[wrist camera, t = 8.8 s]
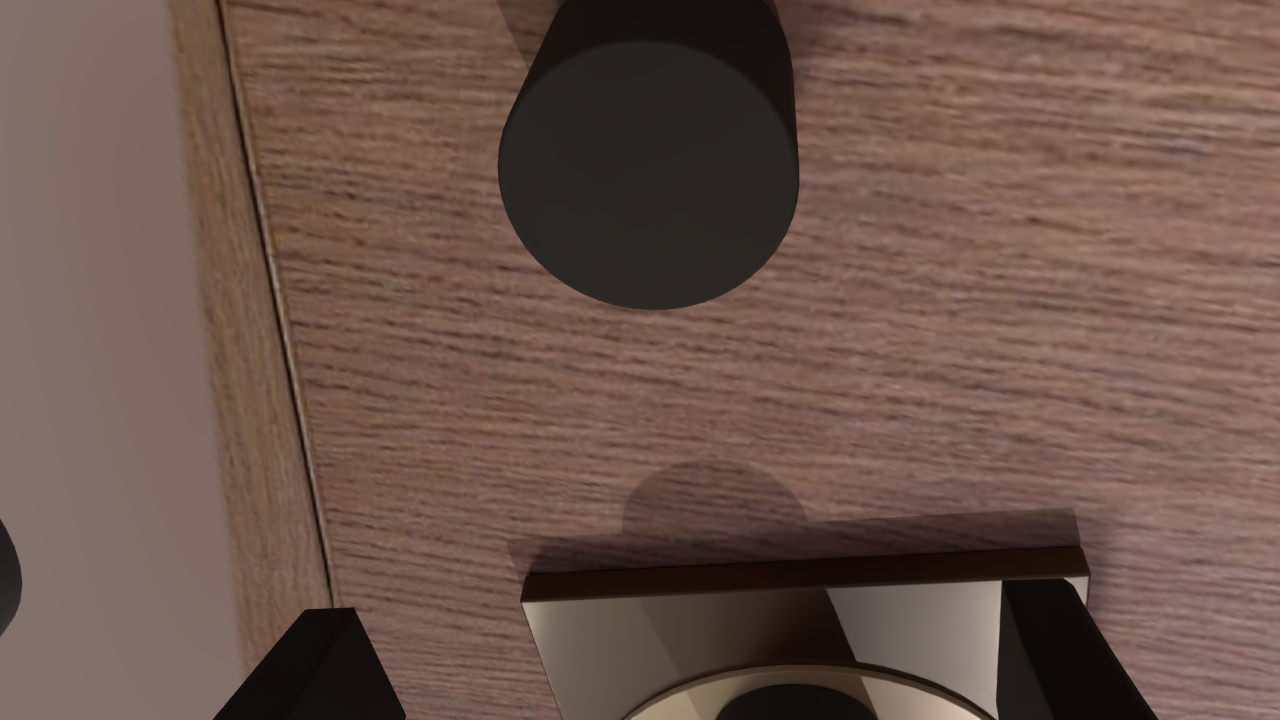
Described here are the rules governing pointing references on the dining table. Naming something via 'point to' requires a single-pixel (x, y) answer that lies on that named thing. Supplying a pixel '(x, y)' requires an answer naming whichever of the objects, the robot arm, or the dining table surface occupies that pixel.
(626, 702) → the board
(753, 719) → the dot
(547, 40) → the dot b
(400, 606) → the dining table surface
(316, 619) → the robot arm
